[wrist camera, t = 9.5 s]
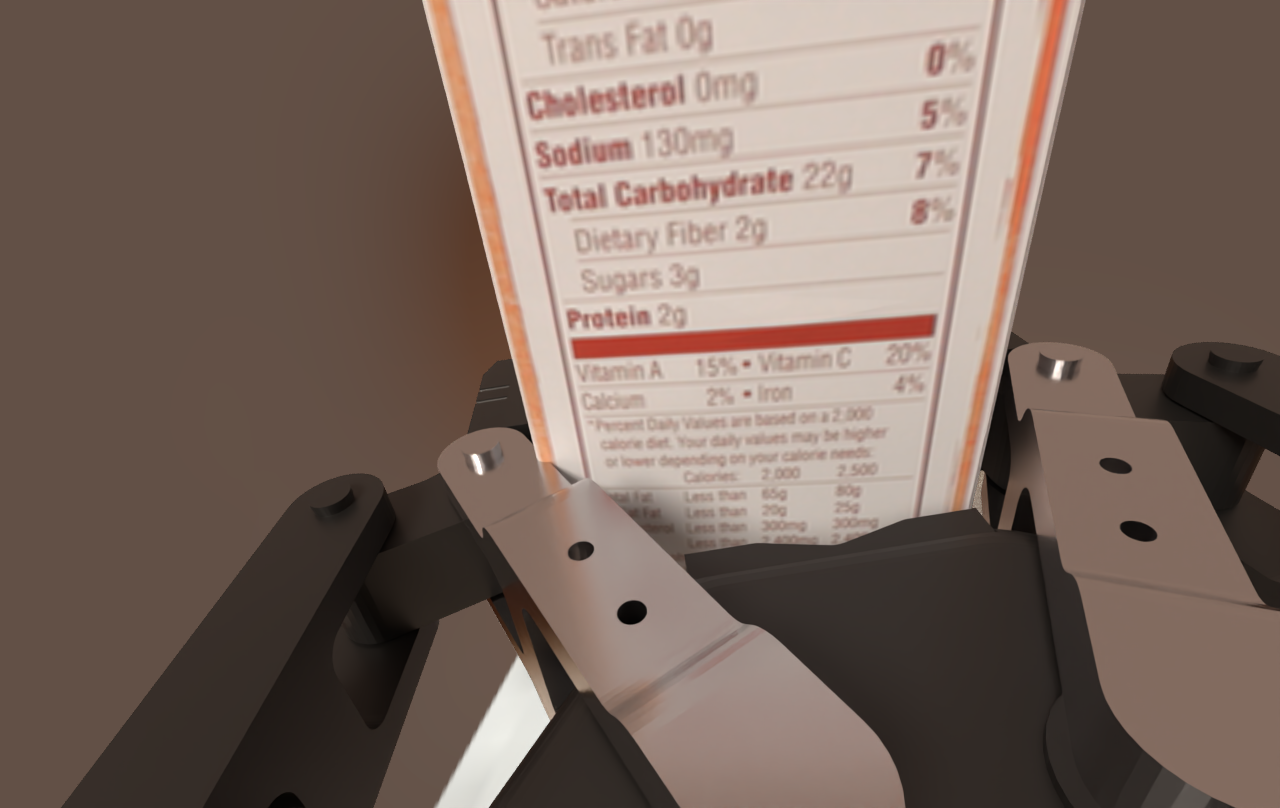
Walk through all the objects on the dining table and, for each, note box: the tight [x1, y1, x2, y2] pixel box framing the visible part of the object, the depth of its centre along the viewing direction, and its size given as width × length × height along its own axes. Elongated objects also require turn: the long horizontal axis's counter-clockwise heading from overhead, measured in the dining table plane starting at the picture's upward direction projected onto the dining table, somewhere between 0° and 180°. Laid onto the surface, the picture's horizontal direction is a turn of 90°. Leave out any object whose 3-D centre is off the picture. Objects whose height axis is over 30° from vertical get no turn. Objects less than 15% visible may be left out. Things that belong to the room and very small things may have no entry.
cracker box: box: [422, 0, 1085, 571], centre depth 14 cm, size 14×6×21 cm, turn 175°
